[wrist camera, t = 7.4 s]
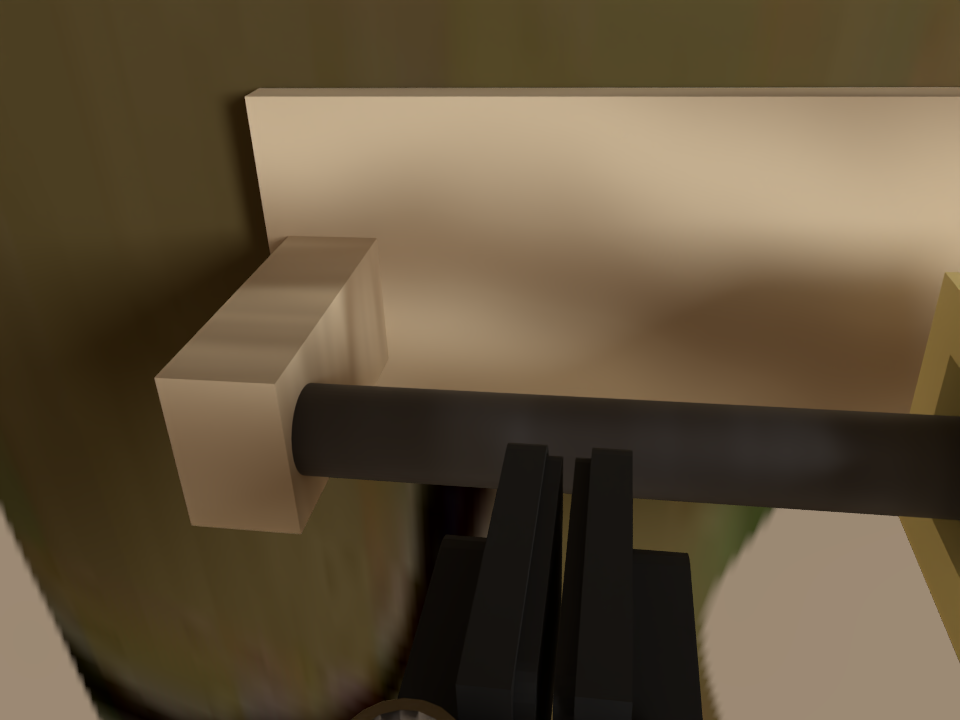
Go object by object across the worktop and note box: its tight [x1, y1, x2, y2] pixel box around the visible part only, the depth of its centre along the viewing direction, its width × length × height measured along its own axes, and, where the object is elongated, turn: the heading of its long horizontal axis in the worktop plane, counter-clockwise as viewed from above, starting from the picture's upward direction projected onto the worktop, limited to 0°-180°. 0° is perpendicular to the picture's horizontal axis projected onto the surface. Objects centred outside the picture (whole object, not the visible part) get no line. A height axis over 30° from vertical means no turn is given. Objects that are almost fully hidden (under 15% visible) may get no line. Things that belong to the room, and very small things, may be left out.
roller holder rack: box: [154, 87, 960, 534], centre depth 16 cm, size 9×22×7 cm, turn 92°
